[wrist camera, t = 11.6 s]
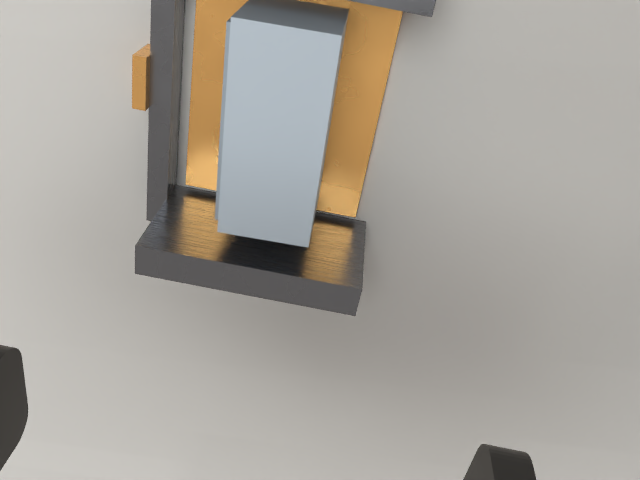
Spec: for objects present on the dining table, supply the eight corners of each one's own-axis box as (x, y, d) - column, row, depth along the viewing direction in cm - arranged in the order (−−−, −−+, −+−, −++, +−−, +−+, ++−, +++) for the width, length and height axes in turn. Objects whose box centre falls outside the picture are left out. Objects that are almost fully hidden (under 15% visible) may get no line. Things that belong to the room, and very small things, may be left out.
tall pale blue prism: (250, -8, 26) (223, 15, 22) (348, 9, 26) (342, 35, 22) (235, 181, 31) (211, 230, 26) (319, 195, 30) (308, 247, 26)
